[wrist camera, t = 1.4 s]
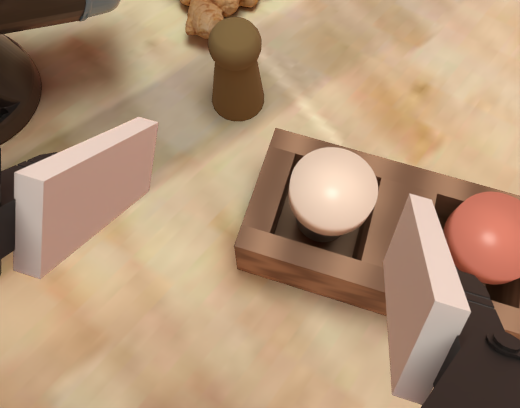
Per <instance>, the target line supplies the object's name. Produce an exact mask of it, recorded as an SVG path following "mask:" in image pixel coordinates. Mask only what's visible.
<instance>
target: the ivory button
mask: <svg viewBox="0 0 520 408" xmlns="http://www.w3.org/2000/svg"><path fill="white" fill-rule="evenodd" d="M377 197H378V183H377V179H376V176H375V174H374V172H373V170H372V168H371V167H370V166H369V164H368V163H367V162H366V161H365V160H364V159H363V158H361V157H360V156H359V155H357V154H355V153H354V152H351V151H349V150H346V149H343V148H337V147H326V148H320V149H317V150H314V151H312V152H310V153H308V154H306V155H305V156H304V157H303V158H301V159H300V160H299V162H298V163H297V164H296V166H295V167H294V169H293V172H292V174H291V178H290V184H289V191H288V199H289V204H290V207H291V210H292V212H293V214H294V215H295V217H296V223H297V225H298V227H299V229H300V231H301V232H302V233H303V234H304V235H305V236H306V237H308V238H309V239H311V240H314V241H317V242H330V241H334V240H336V239H338V238H339V237H341V236H342V235H344V234H347V233H350V232H352V231H354V230H355V229H357V228H358V227H360V226H361V225H362V224H363V223H364V222H365V220H366V219H367V217H368V216H369V214H370V213H371V211H372V210H373V208H374V206H375V204H376V201H377Z"/></svg>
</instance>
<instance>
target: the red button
mask: <svg viewBox="0 0 520 408" xmlns="http://www.w3.org/2000/svg"><path fill="white" fill-rule="evenodd" d="M444 236H445V239H446V242H447V244H448V247H449V250H450V253H451V256H452V259H453V262H454V264H455V267H456V270H459V271H462V272H466V273H469V274H472V275H475V277H476V278H477V279H478V280H479V281H480V282H481V283H485V284H492V285H498V284H505V283H508V282H511V281H513V280H516V279H518V278H520V200H518V199H517V198H515V197H512V196H510V195H507V194H504V193H500V192H482V193H478V194H475V195H473V196H471V197H469V198H468V199H466V200H465V201H464V202H463V203H462V204H460V205H459V206H458V207H457V208H456V209H455V210H454V211H453V212H452V213H451V214H450V216H449V217H448V219H447V221H446V223H445V227H444Z"/></svg>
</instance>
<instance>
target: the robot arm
mask: <svg viewBox="0 0 520 408" xmlns="http://www.w3.org/2000/svg"><path fill="white" fill-rule="evenodd" d="M119 3H120V0H0V144H1V143H3V142H5V141H6V140H8V139H9V138H11V137H12V136H14V135H15V134H16V133H17V132H18V131H19V130H21V129H22V128H23V127H24V126H25V124H26V123H27V122H28V121H29V119H30V118H31V117H32V115H33V113H34V112H35V110H36V107H37V105H38V102H39V99H40V95H41V79H40V75H39V72H38V70H37V68H36V66H35V64H34V63H33V61H32V60H31V59H30V57H29V56H28V54H27V53H26V51H25V50H24V49H23V48H22V47H21V46H20V45H19V44H18V43H16V42H15V41H14V40H12V39H10V38H9V37H7V36H5V35H3V34H6V33H12V32H17V31H23V30H29V29H34V28H40V27H46V26H52V25H57V24H63V23H69V22H74V21H84V20H86V19H87V18H88V17H92V16H96V15H99V14H103V13H107V12H110V11H112V10H114V9H115V8H116V7H117V6H118V4H119ZM157 129H158V122H155V121H152V120H148V119H145V118H141V117H137V118H135V119H133V120H130V121H128V122H126V123H124V124H121V125H119V126H117V127H115V128H112V129H110V130H108V131H106V132H103V133H101V134H99V135H97V136H95V137H92V138H90V139H88V140H86V141H83V142H81V143H79V144H77V145H74V146H72V147H70V148H68V149H65V150H63V151H61V152H59V153H57V152H55V153H49V154H43V155H39V156H36V157H34V158H32V159H29V160H28V161H27V162H26V161H25V162H22V163H20V164H18V166H16V165H15V166H13V167H11V168H8V169H6V170H4V171H1V148H0V275H1V259H2V258H3V257H5V256H6V255H8V254H9V253H11V252H12V251H14V255H13V270H14V271H17V272H20V273H23V274H26V275H29V276H32V277H35V278H38V279H41V278H42V277H44V276H45V275H46V274H47V273H48V272H50V271H51V270H52V269H53V268H55V267H56V266H57V265H58V264H60V263H61V262H62V261H63V260H65V259H66V258H67V257H68V256H70V255H71V254H72V253H73V252H74V251H76V250H77V249H78V248H79V247H81V246H82V245H83V244H84V243H86V242H87V241H88V240H89V239H91V238H92V237H93V236H94V235H95V234H97V233H98V232H99V231H100V230H102V229H103V228H104V227H105V226H107V225H108V224H109V223H110V222H112V221H113V220H114V219H115V218H116V217H118V216H119V215H120V214H121V213H123V212H124V211H125V210H126V209H128V208H129V207H130V206H131V205H133V204H134V203H135V202H136V201H137V200H139V199H140V198H141V197H142V196H144V195H145V194H146V193H147V192H149V188H150V180H151V173H152V166H153V159H154V151H155V144H156V137H157ZM383 266H384V281H385V296H386V312H387V327H388V342H389V357H390V372H391V387H392V395H394V396H397V397H400V398H403V399H406V400H409V401H412V402H415V403H418V404H421V405H422V407H421V408H520V340H519V339H518V338H516V337H514V336H513V335H511V334H509V333H507V332H505V330H504V328H503V325H502V323H501V321H500V319H499V316H498V314H497V312H496V310H495V309H494V308H495V307H494V305H493V302H492V300H490V296H489V293H488V291H487V289H486V287H485V286H484V285H483V284H482V283H481V282H480V281H479V280H478V279H477V278H476V277H475V275H472V274H469V273H466V272H462V271H459V270H456V267H455V264H454V262H453V259H452V256H451V253H450V250H449V247H448V244H447V242H446V239H445V236H444V233H443V230H442V227H441V225H440V222H439V219H438V216H437V213H436V210H435V207H434V205H433V202H432V200H431V199H427V198H424V197H420V196H417V195H413V194H410V193H409V196H408V198H407V201H406V204H405V206H404V209H403V211H402V214H401V217H400V219H399V222H398V224H397V227H396V230H395V232H394V235H393V237H392V240H391V242H390V245H389V248H388V250H387V253H386V255H385V258H384V261H383ZM433 387H434V389H433ZM432 389H433V390H432ZM431 391H432V392H431Z"/></svg>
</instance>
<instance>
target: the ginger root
mask: <svg viewBox="0 0 520 408" xmlns="http://www.w3.org/2000/svg"><path fill="white" fill-rule="evenodd" d="M180 1H181V3H182V4H184V5H187V6H189V5H190V6H189V9H188V14H187V16H188V19H187V22H186V33H187V34H188V35H198V36H200V37H202V38H205V39H208V38H209V35H210V32H211V30H212V28H213V27H214V26H215V25H216V24H217V23H218V22H219V21H221V20H223V19H224V18H223V16H224V17H227V16H229V15H231V14H233V13H234V12H235V11H237V9H238V7H239V6H245V7H253V6H254V5H255V4H257V2H258V0H180Z"/></svg>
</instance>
